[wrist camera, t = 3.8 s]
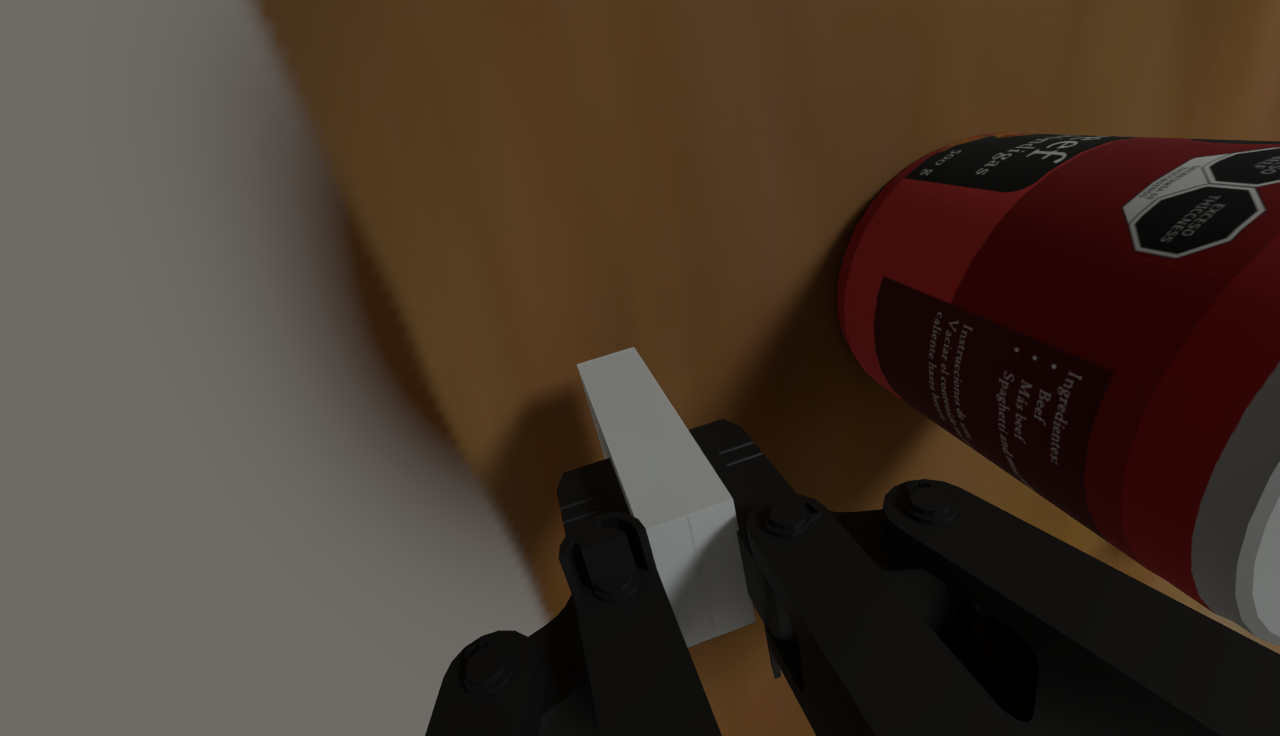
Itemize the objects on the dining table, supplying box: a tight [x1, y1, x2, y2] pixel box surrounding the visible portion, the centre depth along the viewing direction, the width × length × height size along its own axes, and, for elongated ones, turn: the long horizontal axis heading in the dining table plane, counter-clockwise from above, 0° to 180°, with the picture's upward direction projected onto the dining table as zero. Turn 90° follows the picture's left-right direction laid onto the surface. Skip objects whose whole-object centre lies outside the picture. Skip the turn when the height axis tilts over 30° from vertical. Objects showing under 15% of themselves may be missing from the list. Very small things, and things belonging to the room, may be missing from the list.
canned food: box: [837, 133, 1280, 645], centre depth 13 cm, size 8×8×11 cm
